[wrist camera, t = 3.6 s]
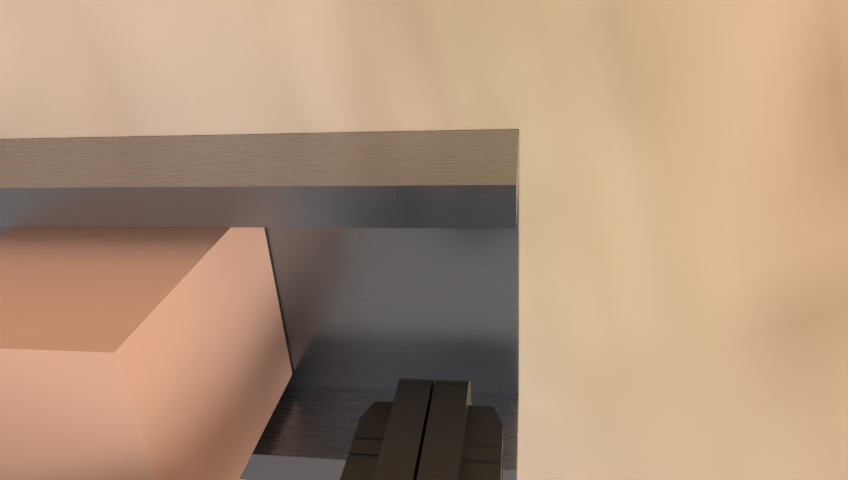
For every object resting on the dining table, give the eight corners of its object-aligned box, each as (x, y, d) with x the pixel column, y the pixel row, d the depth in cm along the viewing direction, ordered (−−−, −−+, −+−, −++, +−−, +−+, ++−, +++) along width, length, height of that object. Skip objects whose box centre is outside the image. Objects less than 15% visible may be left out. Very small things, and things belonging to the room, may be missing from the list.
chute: (518, 127, 17) (515, 186, 13) (518, 403, 21) (516, 505, 17) (-305, 143, 21) (-475, 191, 17) (-171, 372, 25) (-287, 449, 21)
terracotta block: (258, 197, 18) (114, 352, 12) (292, 374, 20) (189, 576, 14) (60, 198, 19) (-172, 342, 13) (117, 367, 21) (-50, 553, 15)
